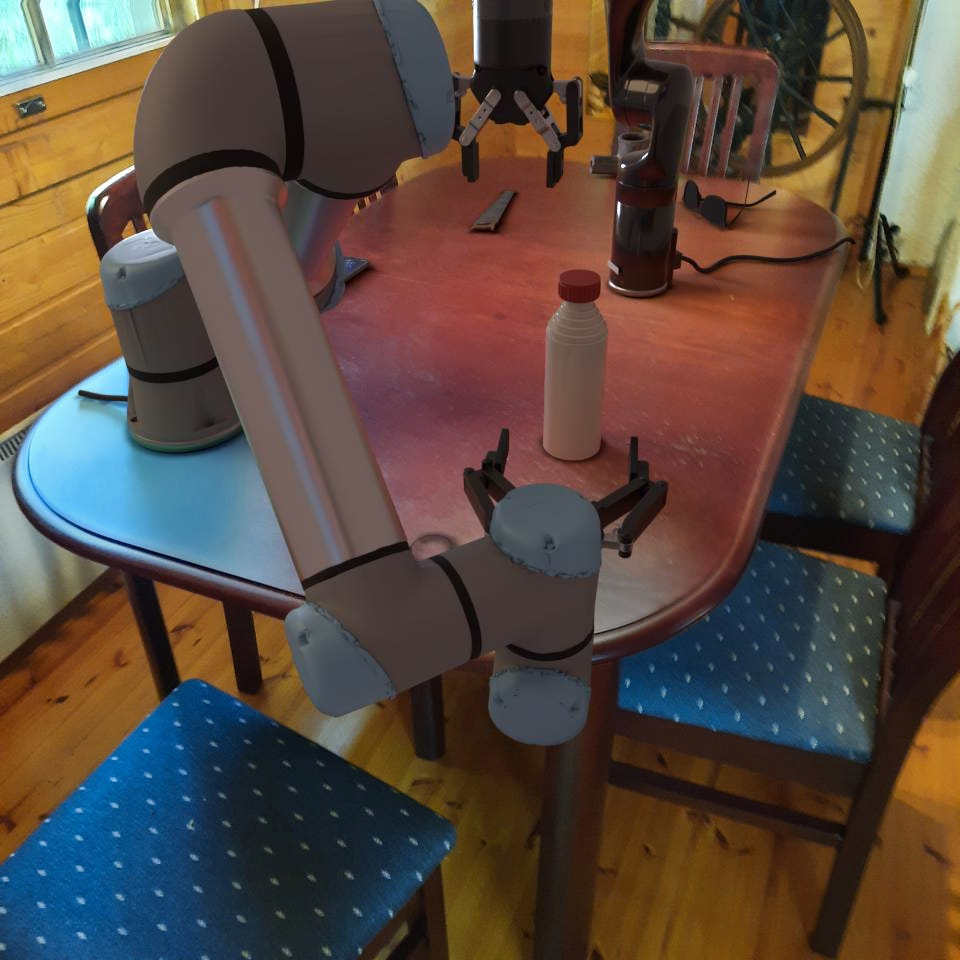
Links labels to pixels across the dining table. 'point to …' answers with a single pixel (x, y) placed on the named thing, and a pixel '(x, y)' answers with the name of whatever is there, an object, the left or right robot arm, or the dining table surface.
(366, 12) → the left robot arm
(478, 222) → the grey flat bar
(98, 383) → the dining table surface
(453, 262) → the dining table surface
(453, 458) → the dining table surface
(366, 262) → the smartphone
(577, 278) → the cap
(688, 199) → the sunglasses
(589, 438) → the bottle
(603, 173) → the pipe
